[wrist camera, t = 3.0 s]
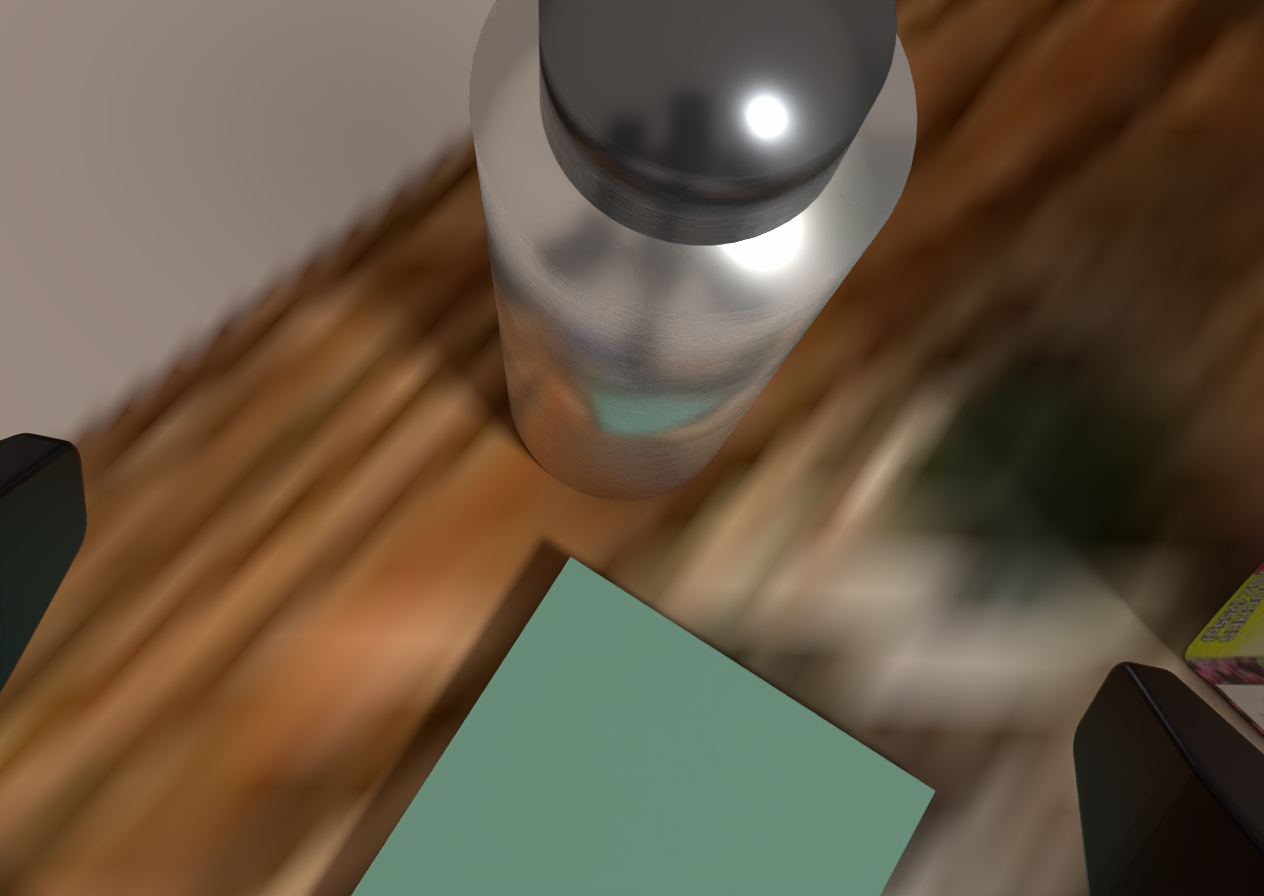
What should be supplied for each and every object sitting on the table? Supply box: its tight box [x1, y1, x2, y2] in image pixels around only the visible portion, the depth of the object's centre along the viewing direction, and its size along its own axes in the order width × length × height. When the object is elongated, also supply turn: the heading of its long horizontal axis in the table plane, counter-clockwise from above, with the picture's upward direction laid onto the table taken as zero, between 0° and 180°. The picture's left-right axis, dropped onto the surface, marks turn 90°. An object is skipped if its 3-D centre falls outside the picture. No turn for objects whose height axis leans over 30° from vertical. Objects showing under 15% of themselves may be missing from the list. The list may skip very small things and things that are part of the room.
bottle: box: [470, 0, 917, 500], centre depth 16 cm, size 5×5×12 cm
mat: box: [351, 557, 935, 896], centre depth 19 cm, size 8×8×1 cm
